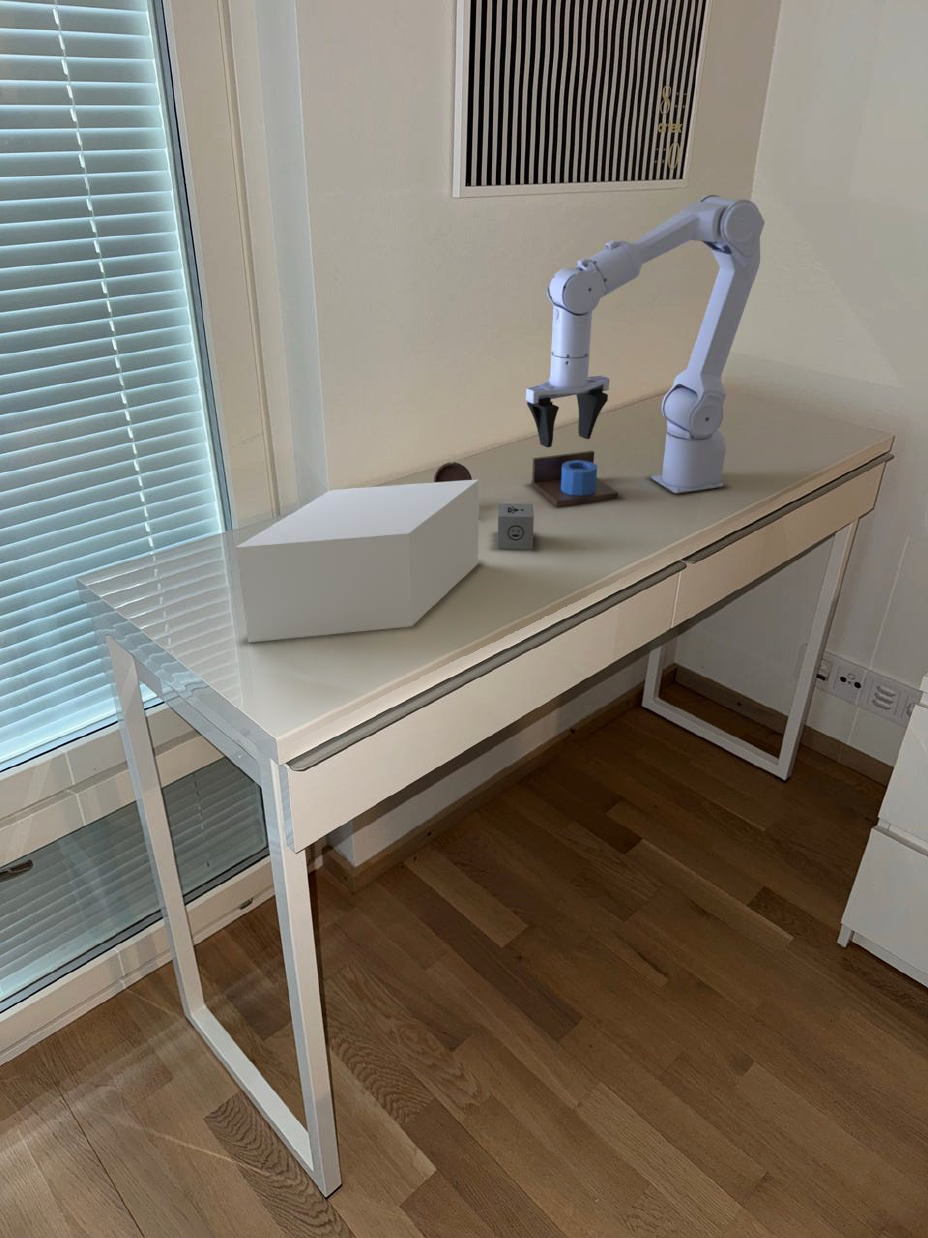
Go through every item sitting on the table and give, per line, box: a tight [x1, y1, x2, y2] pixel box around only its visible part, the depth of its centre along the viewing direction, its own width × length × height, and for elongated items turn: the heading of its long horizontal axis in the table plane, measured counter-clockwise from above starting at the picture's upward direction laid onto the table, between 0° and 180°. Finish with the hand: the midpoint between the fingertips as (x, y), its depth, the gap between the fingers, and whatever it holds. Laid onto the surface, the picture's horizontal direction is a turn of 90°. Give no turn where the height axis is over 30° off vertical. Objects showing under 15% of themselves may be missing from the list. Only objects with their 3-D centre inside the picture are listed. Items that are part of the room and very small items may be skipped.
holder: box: [530, 450, 619, 508], centre depth 149 cm, size 11×10×5 cm
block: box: [235, 479, 480, 643], centre depth 114 cm, size 18×35×12 cm, turn 128°
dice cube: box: [497, 502, 535, 550], centre depth 132 cm, size 5×5×5 cm
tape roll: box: [561, 460, 598, 496], centre depth 148 cm, size 6×6×4 cm
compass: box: [433, 461, 473, 483], centre depth 140 cm, size 8×8×7 cm
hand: (565, 441), depth 143 cm, fingers open, 7 cm apart
